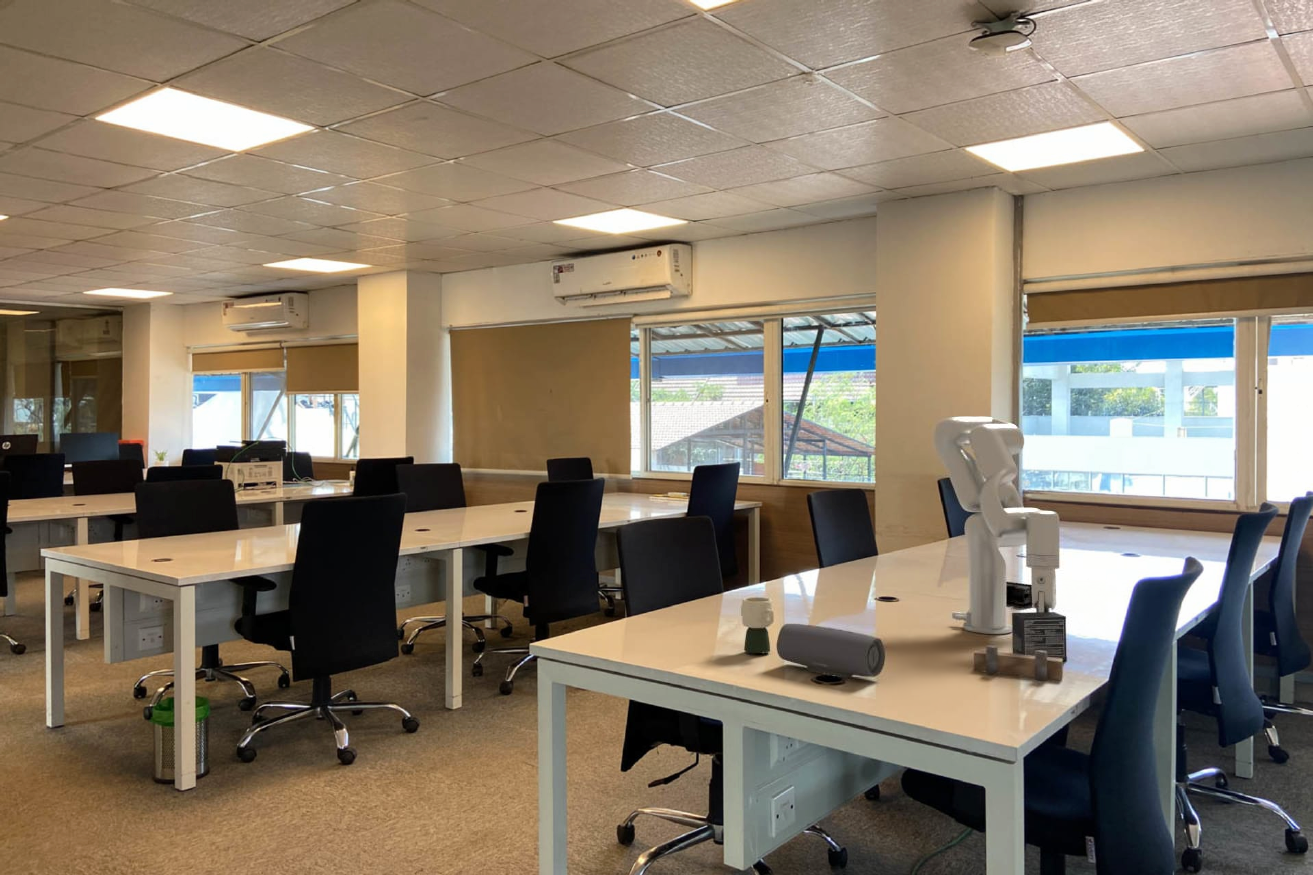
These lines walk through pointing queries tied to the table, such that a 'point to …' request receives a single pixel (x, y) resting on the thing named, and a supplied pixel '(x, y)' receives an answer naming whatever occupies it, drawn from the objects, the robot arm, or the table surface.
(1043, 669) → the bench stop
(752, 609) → the character mug
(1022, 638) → the small box
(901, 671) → the table surface
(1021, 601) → the end cap
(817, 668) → the bluetooth speaker
